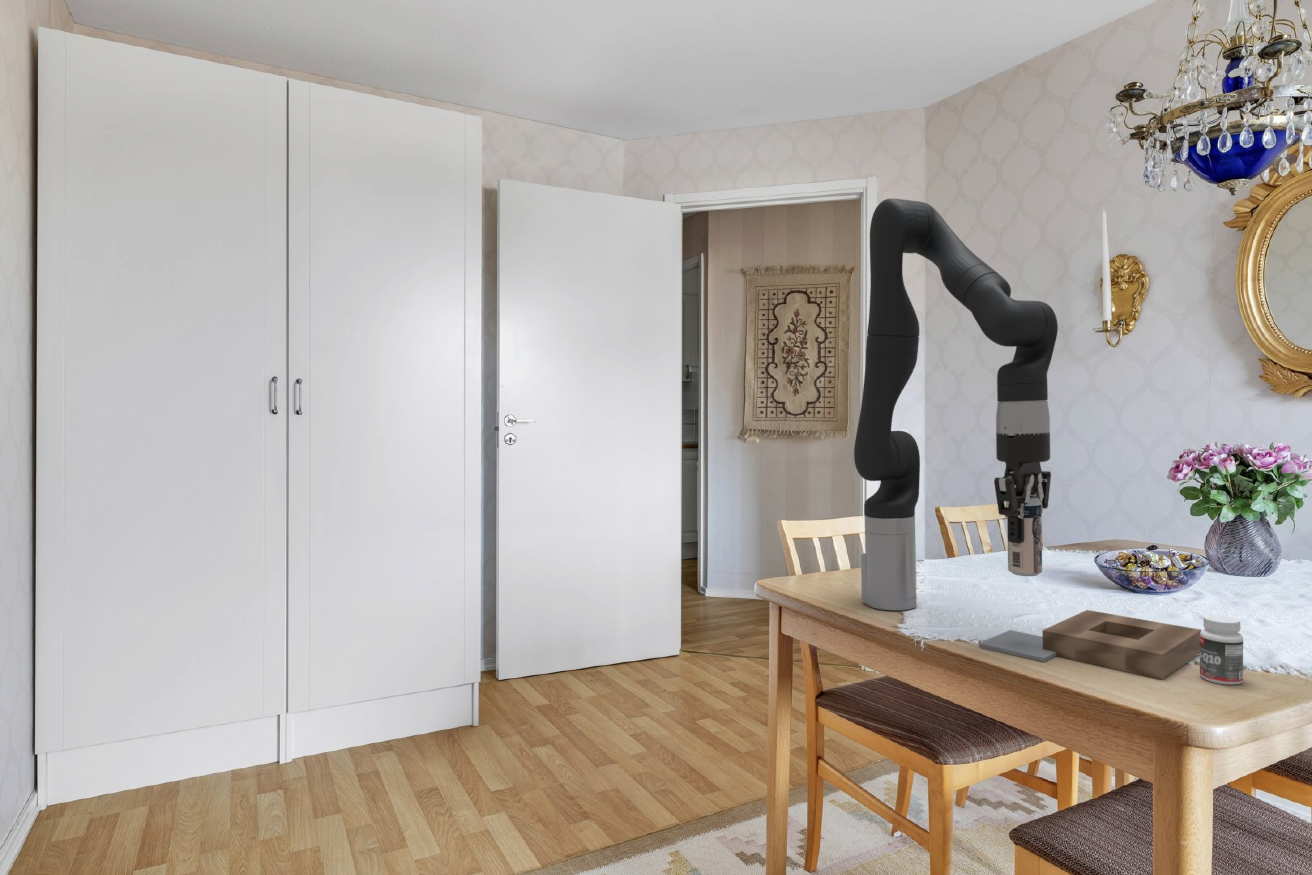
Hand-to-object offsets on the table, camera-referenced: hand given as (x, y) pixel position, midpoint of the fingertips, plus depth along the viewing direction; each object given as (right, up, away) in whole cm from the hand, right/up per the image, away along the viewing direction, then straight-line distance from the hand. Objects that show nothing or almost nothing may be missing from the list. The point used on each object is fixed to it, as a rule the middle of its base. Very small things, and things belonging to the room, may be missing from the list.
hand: (1024, 539), depth 119 cm
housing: (+13, -17, -4) cm, 21 cm away
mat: (+1, -17, +1) cm, 17 cm away
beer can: (0, -6, 0) cm, 6 cm away
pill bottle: (+20, -17, -15) cm, 30 cm away
